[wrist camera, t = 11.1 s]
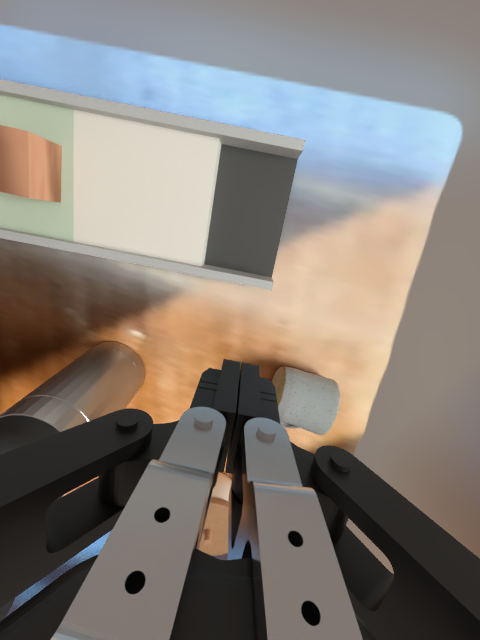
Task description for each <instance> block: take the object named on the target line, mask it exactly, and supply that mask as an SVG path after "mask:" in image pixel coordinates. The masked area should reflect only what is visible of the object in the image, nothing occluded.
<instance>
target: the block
mask: <svg viewBox="0 0 480 640" xmlns="http://www.w3.org/2000/svg"><path fill="white" fill-rule="evenodd" d="M61 170H62V146H60V145H58V144H56V143H54V142H51V141H49V140H47V139H44V138H42V137H40V136H38V135H35V134H33V133H31V132H29V131H25V130H20V129H16V128H12V127H7V126H3V125H0V192H4V193H8V194H13V195H17V196H22V197H26V198H31V199H39V200H46V201H53V202H60V203H61Z"/></svg>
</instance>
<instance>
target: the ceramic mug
mask: <svg viewBox="0 0 480 640" xmlns="http://www.w3.org/2000/svg"><path fill="white" fill-rule="evenodd" d="M271 382H272V383H273V385H274V386H275V389H276V396H277V403H278V410H279V417H280V425H282V426H283V427H285V428H302V429H305V430H307V431H310V432H313V433H315V434H318V435H324V434H326V433H327V432H328V431H329V430H330V428H331V427H332V425H333V423H334V421H335V418H336V416H337V413H338V409H339V400H340V393H339V387H338V384H337V383H336V382H335V381H334V380H332V379H329V378H325V377H322V376H319V375H315V374H312V373H308V372H305V371H302V370H299V369H295V368H291V367H280V368H279V369H278V370H277V371H276V372H275V374H274V376H273V379H272V381H271Z"/></svg>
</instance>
